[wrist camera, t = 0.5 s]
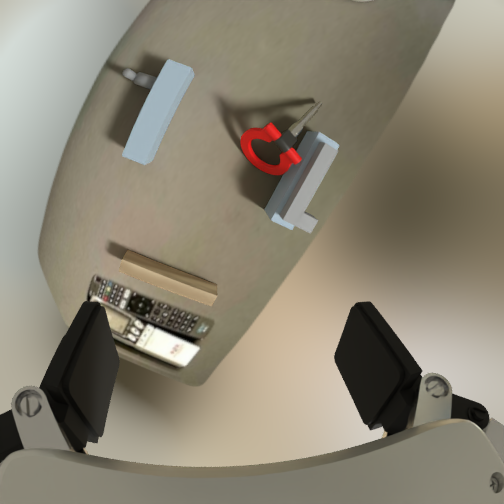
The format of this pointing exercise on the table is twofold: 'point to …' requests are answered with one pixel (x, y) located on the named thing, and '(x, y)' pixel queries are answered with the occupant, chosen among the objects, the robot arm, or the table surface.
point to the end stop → (168, 278)
